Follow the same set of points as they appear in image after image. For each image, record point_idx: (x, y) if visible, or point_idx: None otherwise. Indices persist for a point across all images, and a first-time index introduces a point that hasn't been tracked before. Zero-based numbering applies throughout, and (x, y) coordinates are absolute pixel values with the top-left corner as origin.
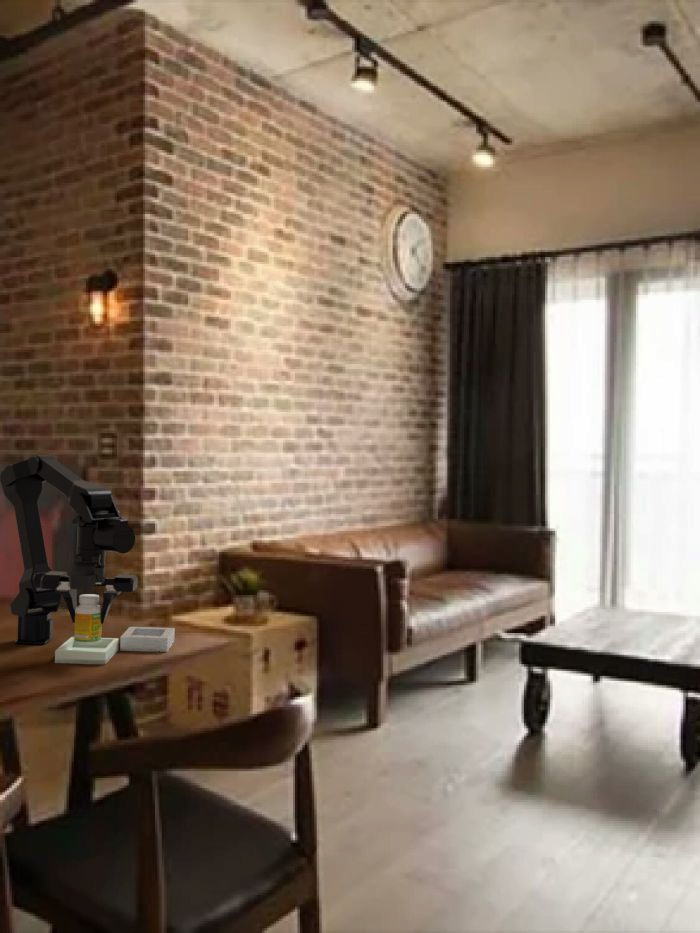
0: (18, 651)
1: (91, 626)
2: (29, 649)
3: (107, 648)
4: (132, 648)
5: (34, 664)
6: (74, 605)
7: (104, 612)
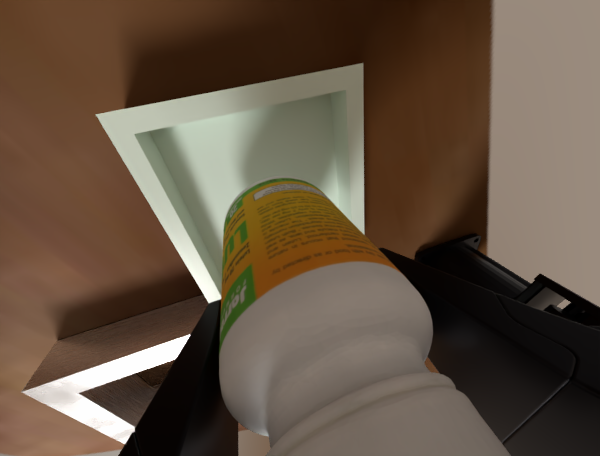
0: (464, 178)
1: (248, 234)
2: (441, 206)
3: (153, 193)
4: (172, 309)
5: (403, 22)
6: (457, 343)
7: (174, 378)
